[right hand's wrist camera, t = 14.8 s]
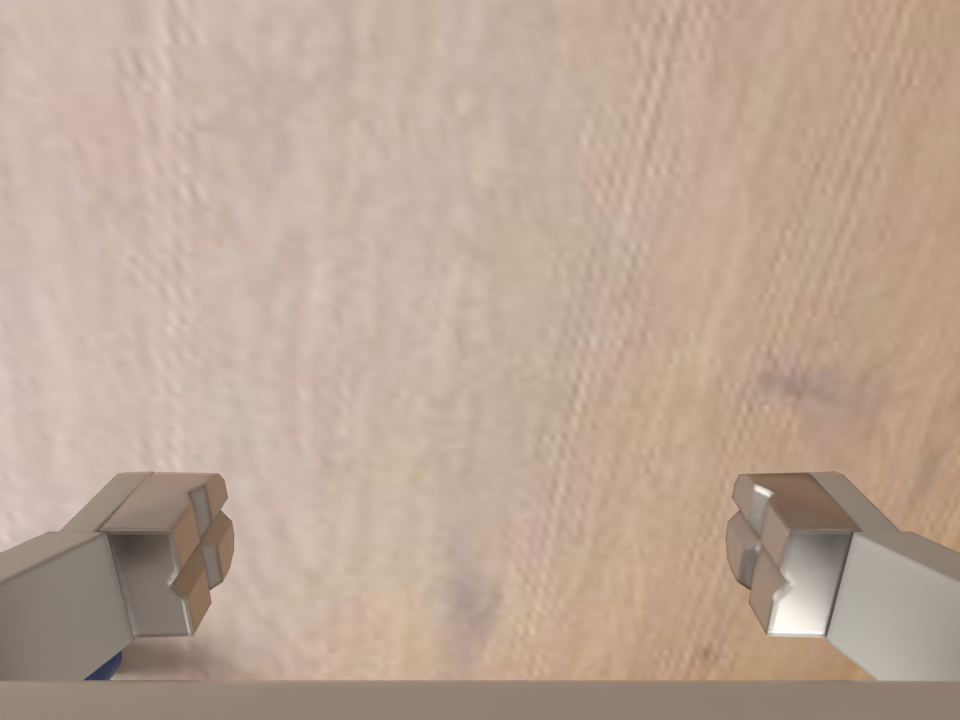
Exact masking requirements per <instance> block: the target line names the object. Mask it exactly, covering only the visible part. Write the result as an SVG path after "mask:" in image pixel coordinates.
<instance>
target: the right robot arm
mask: <svg viewBox="0 0 960 720" xmlns="http://www.w3.org/2000/svg"><path fill="white" fill-rule="evenodd" d="M227 498H228V495H227V490H226V485H225V481H224V479H223V478H222V477H221V476H220V474H219V473H172V472H157V473H155V472H125V473H119V474H117V475H116V476H115V477H114V478H113V479H112V480H111V481H110V482H109V483H108V484H107V485H106V486H105V487H104V488H103V489H102V490H101V491H100V492H99V493H98V494H97V495H96V496H95V497H94V498H93V499H92V500H91V501H90V502H89V503H88V504H87V505H86V506H85V507H84V508H83V509H82V510H81V511H79V512H78V513H77V514H76V515H75V516H74V517H73V518H72V519H71V520H70V521H69V522H68V523H67V524H66V525H65V526H64V527H63V528H62V529H61V530H60V531H59V532H47V533H45V534H42V535H40V536H38V537H36V538H33V539H31V540H29V541H27V542H24V543H22V544H20V545H17V546H15V547H13V548H11V549H8V550H6V551H4V552H2V553H0V720H960V553H958V552H956V551H954V550H951V549H949V548H947V547H945V546H942V545H940V544H938V543H936V542H933V541H931V540H929V539H927V538H924V537H922V536H920V535H918V534H915V533H913V532H901V531H900V530H899V529H898V528H897V527H896V526H895V525H894V524H893V523H892V522H891V521H890V520H889V519H888V518H887V517H886V516H885V515H884V514H883V513H882V512H881V511H880V510H879V509H878V508H877V507H876V506H875V505H874V504H873V503H872V502H871V501H870V500H869V499H868V498H866V497H865V496H864V495H863V494H862V493H861V492H860V491H859V490H858V489H857V488H856V487H855V486H854V485H853V484H852V483H851V482H850V481H849V480H848V479H847V478H846V477H845V476H844V475H843V474H840V473H838V472H835V471H834V472H809V473H771V474H741V475H738V477H737V480H736V482H735V484H734V489H733V495H732V498H733V500H734V502H735V503H736V505H737V506H738V508H739V509H740V510H739V511H738V512H737V513H736V514H735V515H734V516H733V517H732V518H731V519H730V520H729V521H728V525H727V532H726V550H727V558H728V562H729V565H730V568H731V571H732V573H733V575H734V577H735V579H736V580H737V582H738V583H740V584H741V585H743V586H745V587H746V588H748V589H749V590H751V592H750V597H749V604H750V606H751V608H752V610H753V612H754V613H755V615H756V617H757V619H758V621H759V622H760V624H761V626H762V628H763V630H764V631H765V633H766V635H767V636H788V637H824V638H826V641H828V642H829V643H830V644H832V645H833V646H834V647H835V648H837V649H838V650H839V651H840V652H842V653H843V654H844V655H846V656H847V657H848V658H849V659H851V660H852V661H853V662H855V663H856V664H857V665H858V666H860V667H861V668H862V669H863V670H865V671H866V672H867V673H869V674H870V675H871V676H872V677H874V678H875V679H876V680H84V679H85V678H87V677H88V676H89V675H90V674H92V673H93V672H94V671H95V670H97V669H98V668H99V667H101V666H102V665H103V664H104V663H106V662H107V661H108V660H110V659H111V658H112V657H113V656H115V655H116V654H117V653H118V652H120V651H121V650H122V649H124V648H125V647H126V646H127V645H129V644H130V643H131V642H133V641H134V639H133V638H136V637H171V636H193V635H194V633H195V632H196V630H197V628H198V626H199V624H200V622H201V621H202V619H203V617H204V615H205V613H206V612H207V610H208V608H209V606H210V604H211V597H210V592H209V590H211V589H212V588H214V587H215V586H217V585H219V584H220V583H222V582H223V580H224V578H225V577H226V575H227V573H228V571H229V569H230V565H231V561H232V556H233V552H234V531H233V524H232V521H231V520H230V519H229V518H228V517H227V516H226V515H225V514H224V513H223V512H222V511H221V510H220V509H221V508H222V506H223V505H224V503H225V502H226V500H227Z"/></svg>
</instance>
